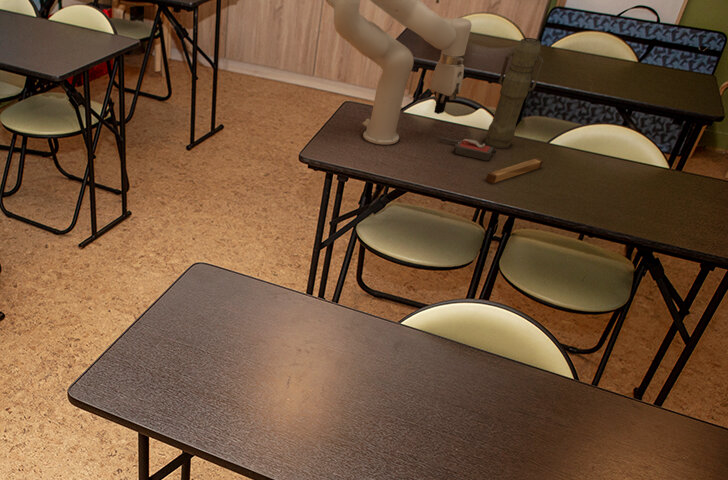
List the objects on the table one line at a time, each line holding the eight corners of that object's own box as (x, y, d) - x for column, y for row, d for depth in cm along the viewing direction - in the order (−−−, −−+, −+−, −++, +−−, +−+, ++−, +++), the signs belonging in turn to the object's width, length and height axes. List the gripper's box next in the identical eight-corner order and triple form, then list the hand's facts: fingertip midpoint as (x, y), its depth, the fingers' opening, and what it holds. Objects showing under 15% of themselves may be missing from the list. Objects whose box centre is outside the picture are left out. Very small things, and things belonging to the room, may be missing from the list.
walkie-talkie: (496, 153, 239) (439, 140, 246) (500, 141, 236) (442, 128, 244) (490, 162, 233) (432, 149, 241) (495, 150, 230) (435, 136, 238)
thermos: (481, 135, 251) (513, 33, 228) (515, 142, 247) (551, 39, 224) (478, 144, 245) (510, 40, 222) (512, 151, 241) (548, 45, 218)
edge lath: (485, 180, 222) (487, 173, 221) (533, 165, 232) (536, 157, 231) (492, 183, 221) (494, 176, 219) (540, 167, 231) (543, 160, 229)
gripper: (476, 63, 229) (462, 117, 241) (442, 51, 239) (430, 104, 251) (461, 66, 226) (447, 121, 238) (427, 55, 236) (415, 108, 248)
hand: (438, 112), depth 244 cm, fingers closed
